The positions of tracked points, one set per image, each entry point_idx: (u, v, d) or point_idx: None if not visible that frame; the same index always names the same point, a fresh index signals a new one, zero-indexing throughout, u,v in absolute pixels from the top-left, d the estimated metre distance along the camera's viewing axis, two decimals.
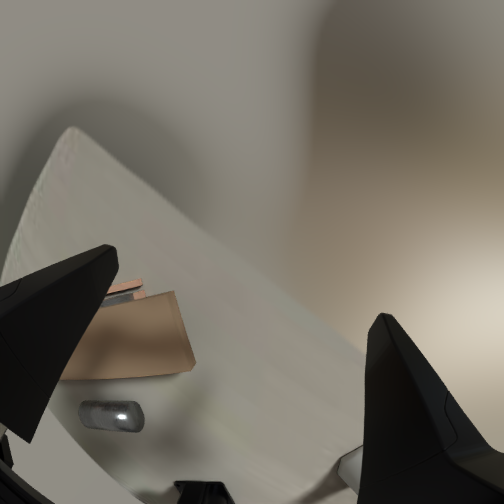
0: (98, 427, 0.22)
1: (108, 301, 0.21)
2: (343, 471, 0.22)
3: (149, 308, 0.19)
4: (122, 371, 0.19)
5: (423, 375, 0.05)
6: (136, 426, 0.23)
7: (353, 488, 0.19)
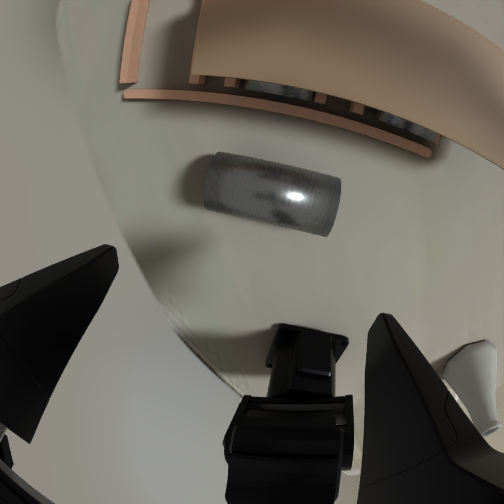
0: (244, 211, 0.15)
1: None
2: (460, 362, 0.21)
3: None
4: (442, 121, 0.09)
5: (423, 375, 0.05)
6: None
7: (465, 385, 0.19)
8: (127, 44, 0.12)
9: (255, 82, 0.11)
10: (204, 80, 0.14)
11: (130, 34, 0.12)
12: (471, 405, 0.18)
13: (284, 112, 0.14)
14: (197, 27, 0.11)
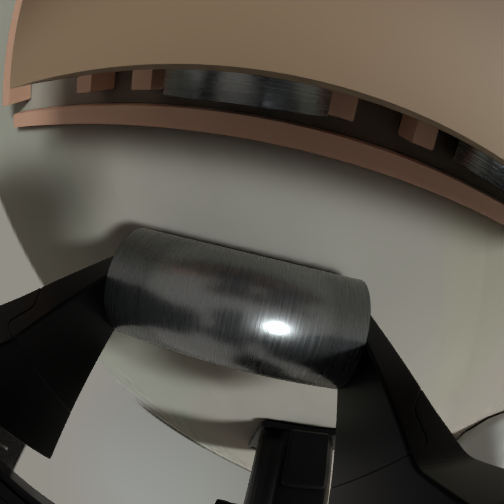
0: (182, 353, 0.08)
1: None
2: (477, 436, 0.14)
3: None
4: None
5: (393, 372, 0.05)
6: None
7: None
8: (10, 44, 0.05)
9: (179, 74, 0.04)
10: (110, 82, 0.07)
11: (14, 27, 0.04)
12: None
13: (260, 138, 0.07)
14: None
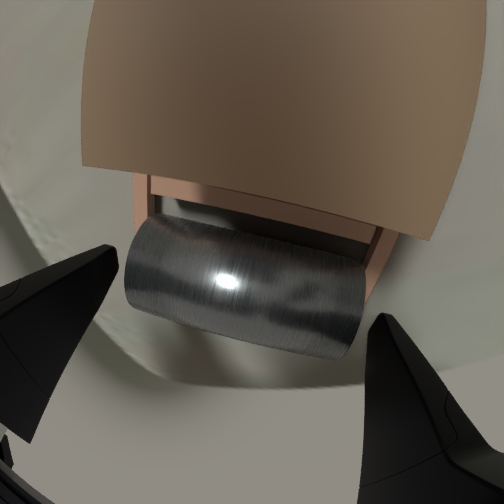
0: (195, 327, 0.09)
1: None
2: None
3: None
4: None
5: (423, 375, 0.05)
6: None
7: None
8: None
9: None
10: None
11: None
12: None
13: None
14: (256, 214, 0.08)
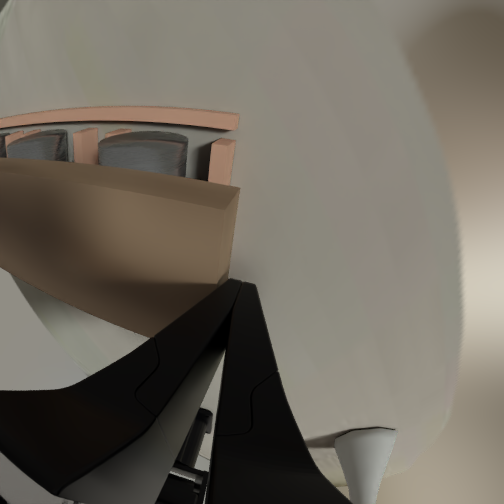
0: None
1: (107, 152, 0.08)
2: (344, 444, 0.22)
3: (162, 223, 0.07)
4: (77, 300, 0.10)
5: (246, 346, 0.06)
6: None
7: (346, 466, 0.20)
8: None
9: None
10: None
11: None
12: (349, 487, 0.19)
13: None
14: None
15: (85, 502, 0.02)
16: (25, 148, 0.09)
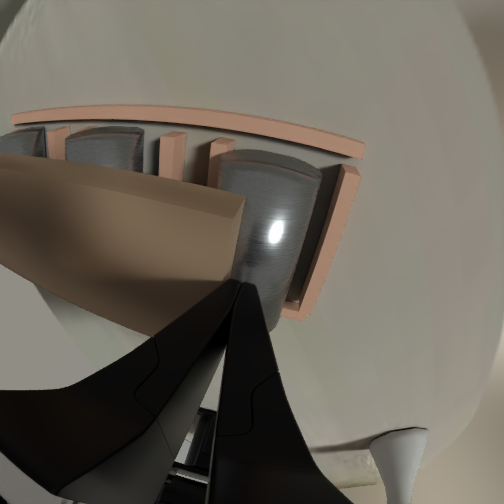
0: None
1: (223, 166, 0.08)
2: (382, 445, 0.22)
3: (170, 229, 0.07)
4: (79, 298, 0.10)
5: (246, 346, 0.06)
6: None
7: (383, 466, 0.20)
8: None
9: None
10: None
11: None
12: (386, 485, 0.18)
13: None
14: None
15: (86, 503, 0.02)
16: (85, 147, 0.08)
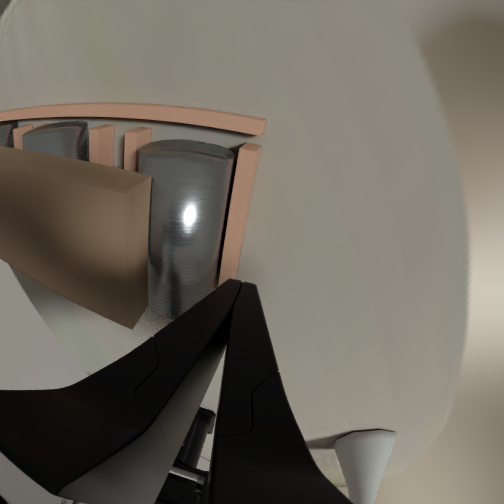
0: None
1: (145, 160, 0.08)
2: (345, 445, 0.22)
3: (84, 204, 0.08)
4: (32, 271, 0.10)
5: (246, 347, 0.06)
6: None
7: (346, 467, 0.21)
8: None
9: None
10: None
11: None
12: (349, 487, 0.19)
13: None
14: None
15: (86, 503, 0.02)
16: (41, 139, 0.08)
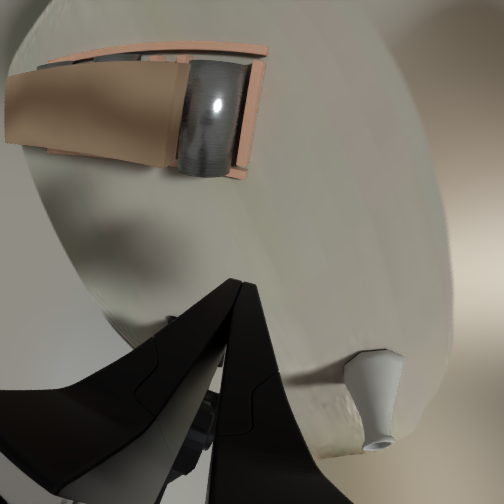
0: None
1: (193, 61, 0.13)
2: (354, 368, 0.26)
3: (148, 73, 0.12)
4: (84, 144, 0.14)
5: (246, 346, 0.06)
6: None
7: (357, 392, 0.24)
8: None
9: None
10: None
11: None
12: (362, 413, 0.23)
13: None
14: None
15: (86, 503, 0.02)
16: (109, 56, 0.12)
